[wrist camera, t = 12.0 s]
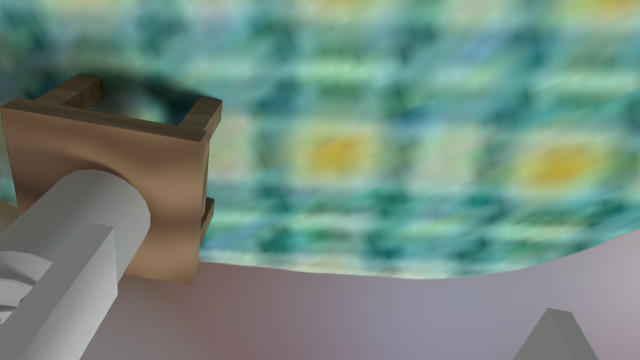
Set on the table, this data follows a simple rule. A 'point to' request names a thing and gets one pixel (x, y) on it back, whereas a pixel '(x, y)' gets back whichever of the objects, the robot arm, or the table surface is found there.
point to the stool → (120, 166)
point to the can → (68, 229)
